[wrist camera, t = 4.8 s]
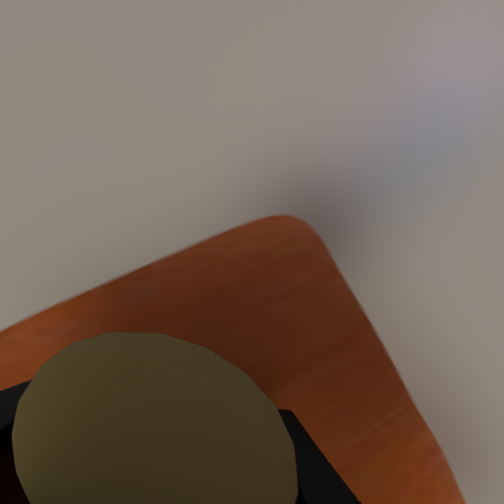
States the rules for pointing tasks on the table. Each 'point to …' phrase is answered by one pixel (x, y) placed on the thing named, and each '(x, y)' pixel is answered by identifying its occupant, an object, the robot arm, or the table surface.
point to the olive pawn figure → (149, 428)
